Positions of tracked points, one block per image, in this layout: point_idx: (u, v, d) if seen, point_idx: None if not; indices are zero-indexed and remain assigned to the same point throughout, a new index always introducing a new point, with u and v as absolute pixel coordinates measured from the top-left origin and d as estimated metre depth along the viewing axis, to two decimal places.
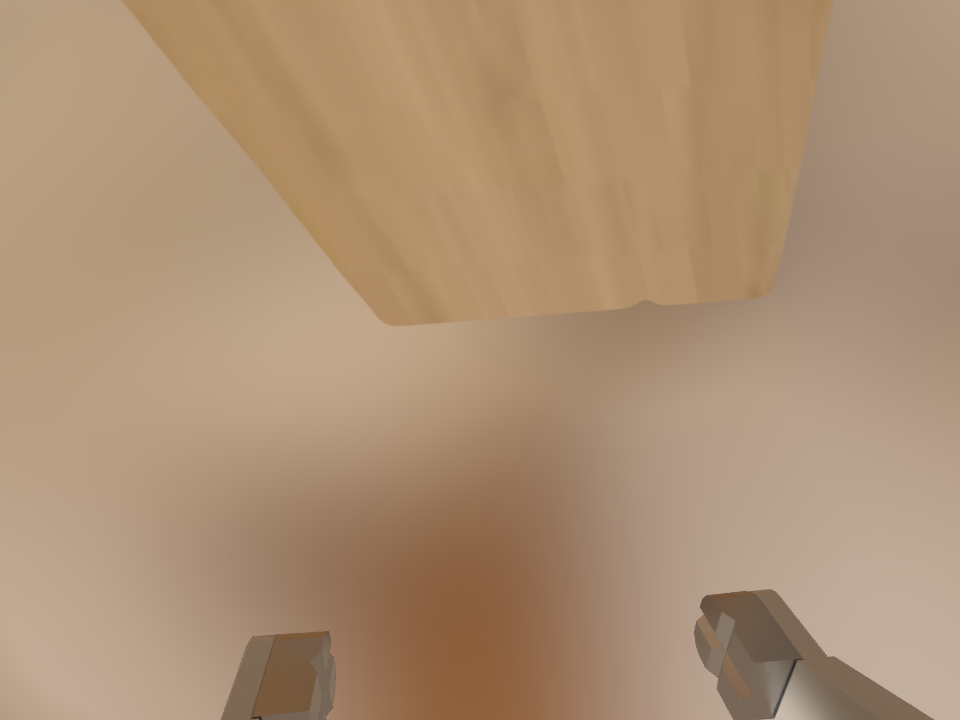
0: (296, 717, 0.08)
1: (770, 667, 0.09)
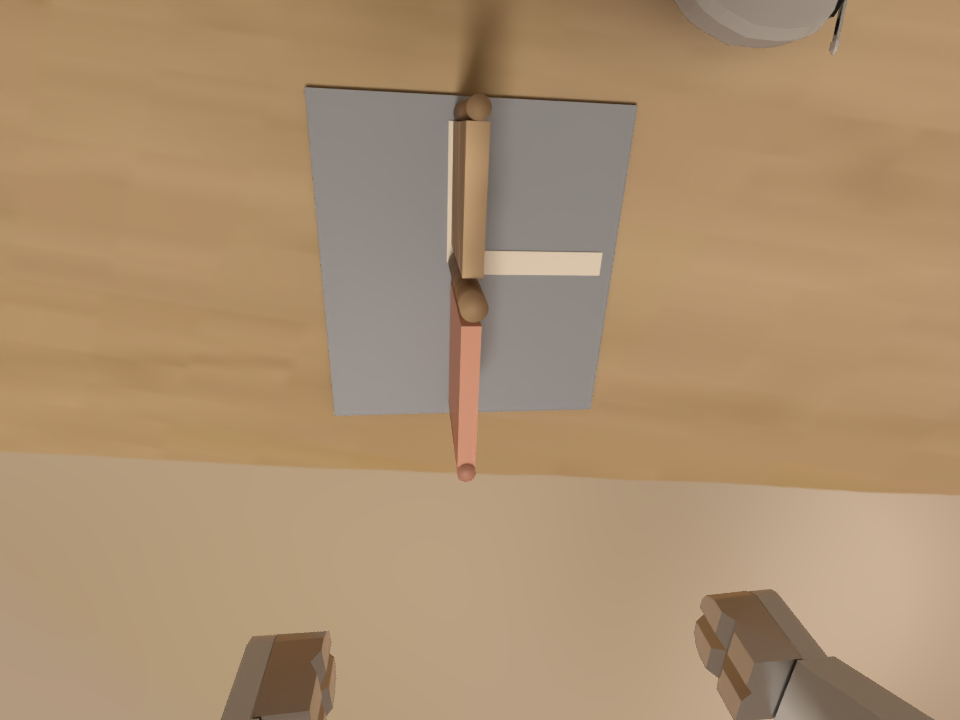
0: (297, 716, 0.08)
1: (770, 667, 0.09)
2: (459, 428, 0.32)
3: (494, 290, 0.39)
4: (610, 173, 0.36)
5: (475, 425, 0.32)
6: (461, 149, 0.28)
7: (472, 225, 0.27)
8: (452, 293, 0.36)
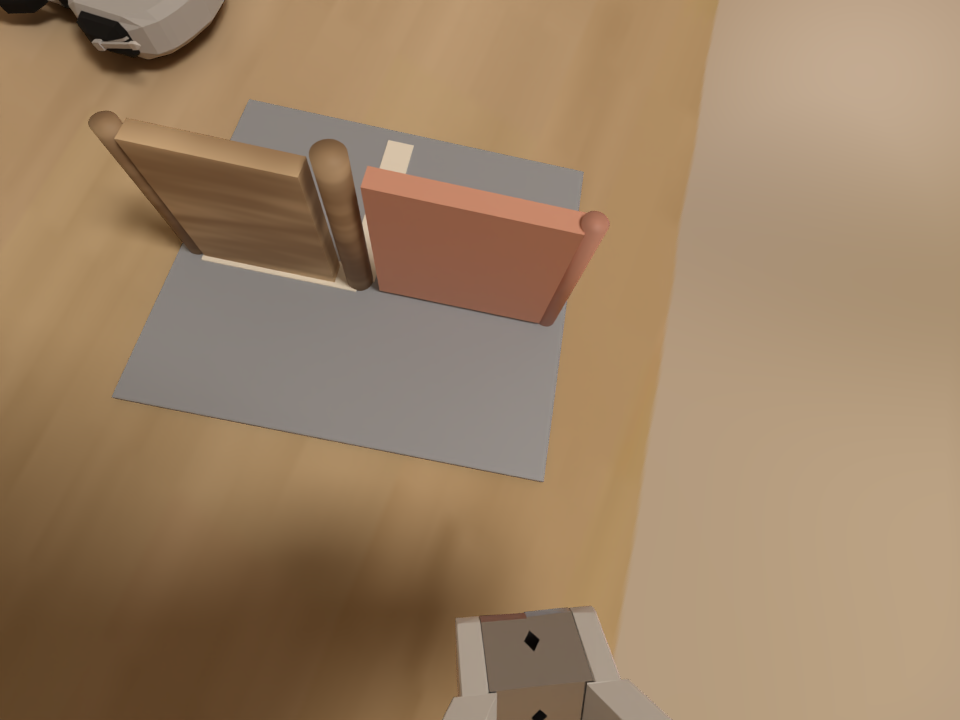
0: (528, 691, 0.09)
1: (561, 690, 0.09)
2: (517, 219, 0.22)
3: None
4: (306, 125, 0.35)
5: (516, 199, 0.22)
6: (174, 185, 0.24)
7: (235, 154, 0.22)
8: (381, 273, 0.29)
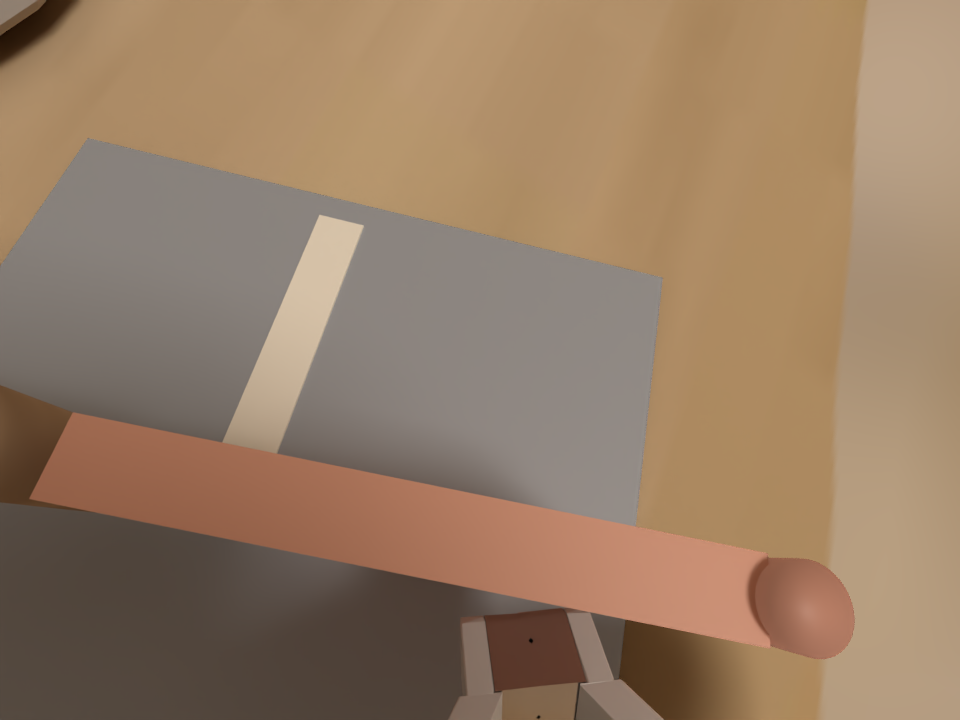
0: (534, 691, 0.09)
1: (554, 690, 0.09)
2: (547, 598, 0.07)
3: (325, 431, 0.17)
4: (179, 187, 0.20)
5: (544, 516, 0.07)
6: None
7: None
8: None
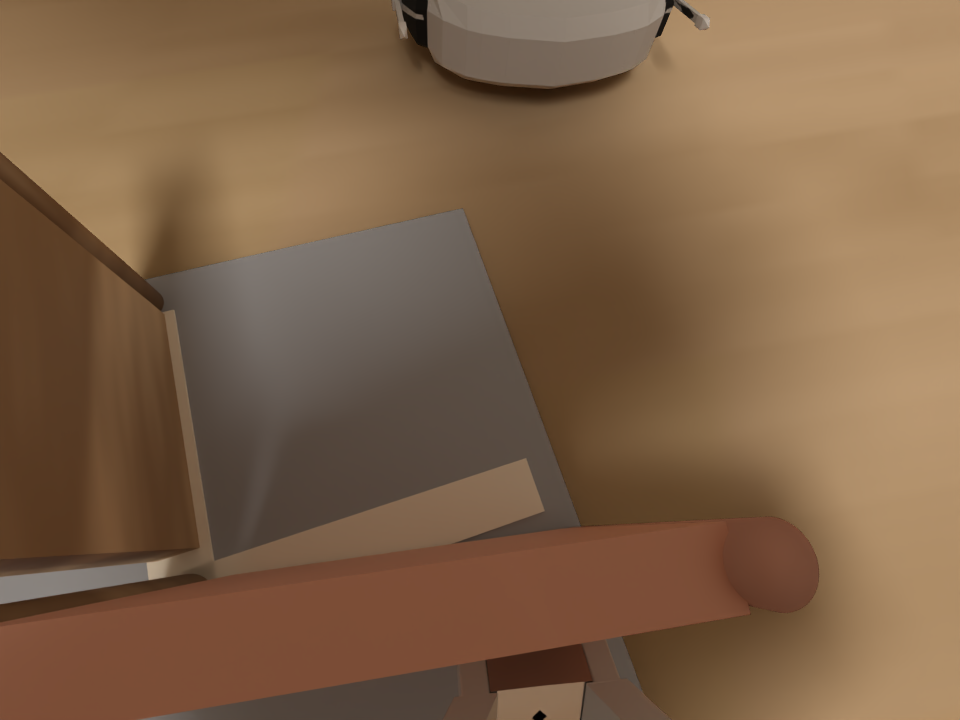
0: (529, 692, 0.09)
1: (560, 690, 0.09)
2: (530, 645, 0.06)
3: None
4: (467, 312, 0.18)
5: (503, 562, 0.07)
6: None
7: None
8: None
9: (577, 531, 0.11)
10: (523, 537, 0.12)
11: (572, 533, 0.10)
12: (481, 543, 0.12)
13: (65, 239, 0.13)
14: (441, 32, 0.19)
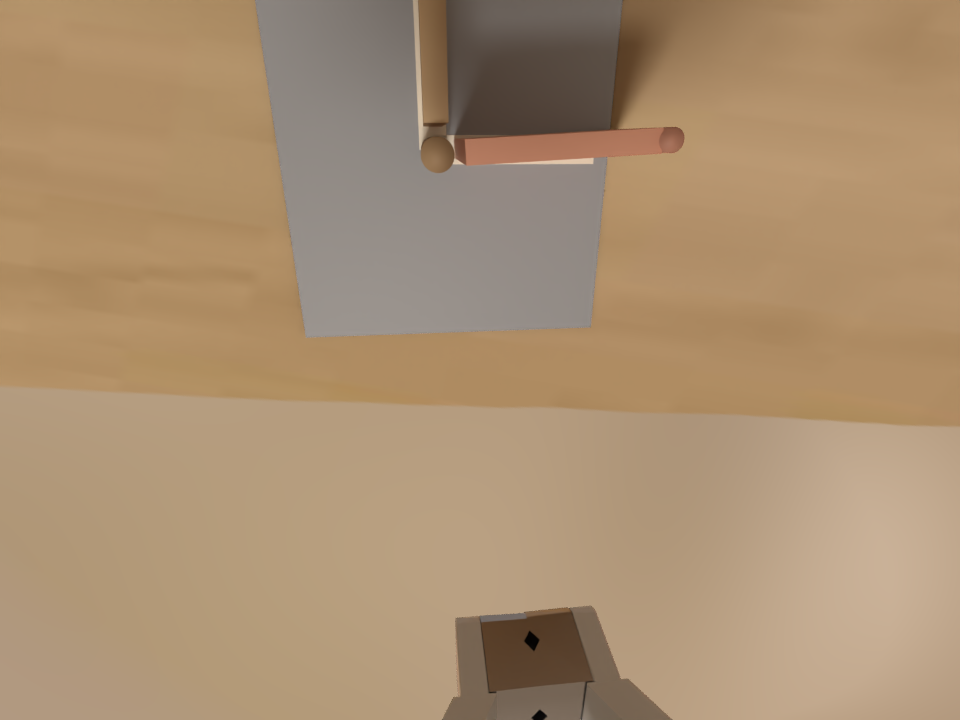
0: (529, 691, 0.09)
1: (561, 690, 0.09)
2: (603, 155, 0.25)
3: (475, 184, 0.34)
4: (600, 36, 0.32)
5: (600, 133, 0.25)
6: None
7: (431, 52, 0.23)
8: None
9: None
10: None
11: None
12: None
13: None
14: None
